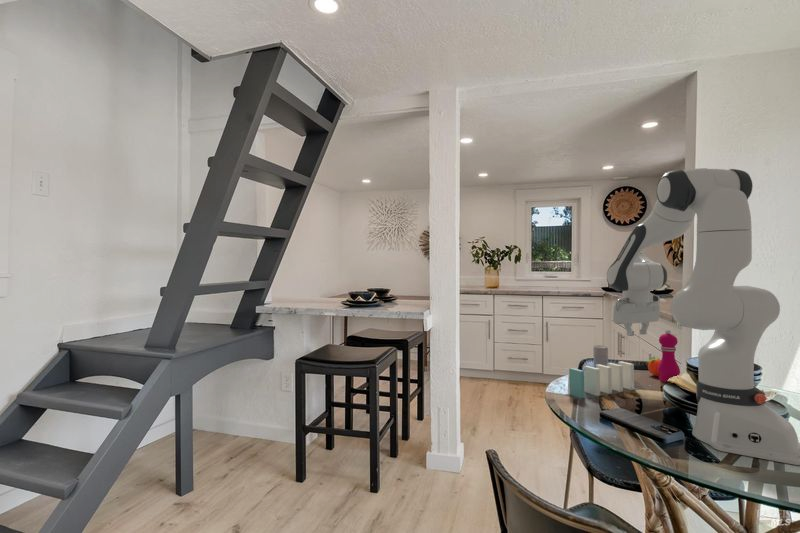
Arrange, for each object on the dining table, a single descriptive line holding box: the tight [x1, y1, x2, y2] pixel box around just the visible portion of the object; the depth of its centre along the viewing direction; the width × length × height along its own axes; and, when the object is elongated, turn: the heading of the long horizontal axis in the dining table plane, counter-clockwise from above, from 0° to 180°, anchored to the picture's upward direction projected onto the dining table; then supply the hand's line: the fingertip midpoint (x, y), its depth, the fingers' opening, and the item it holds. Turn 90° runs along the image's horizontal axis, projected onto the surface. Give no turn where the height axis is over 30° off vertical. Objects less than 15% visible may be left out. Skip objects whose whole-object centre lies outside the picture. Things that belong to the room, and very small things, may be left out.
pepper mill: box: [658, 329, 681, 383], centre depth 159 cm, size 7×7×20 cm
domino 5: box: [617, 360, 635, 391], centre depth 150 cm, size 2×5×9 cm, turn 22°
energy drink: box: [593, 345, 609, 368], centre depth 169 cm, size 5×5×12 cm
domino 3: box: [596, 364, 612, 395], centre depth 146 cm, size 2×5×9 cm, turn 23°
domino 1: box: [568, 367, 585, 398], centre depth 141 cm, size 2×5×9 cm, turn 22°
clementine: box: [646, 358, 661, 377], centre depth 168 cm, size 8×7×7 cm
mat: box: [565, 387, 638, 401], centre depth 146 cm, size 29×6×1 cm, turn 113°
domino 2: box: [584, 365, 600, 397], centre depth 144 cm, size 2×5×9 cm, turn 22°
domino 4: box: [607, 362, 623, 393], centre depth 148 cm, size 2×5×9 cm, turn 23°
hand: (636, 335), depth 153 cm, fingers open, 5 cm apart
